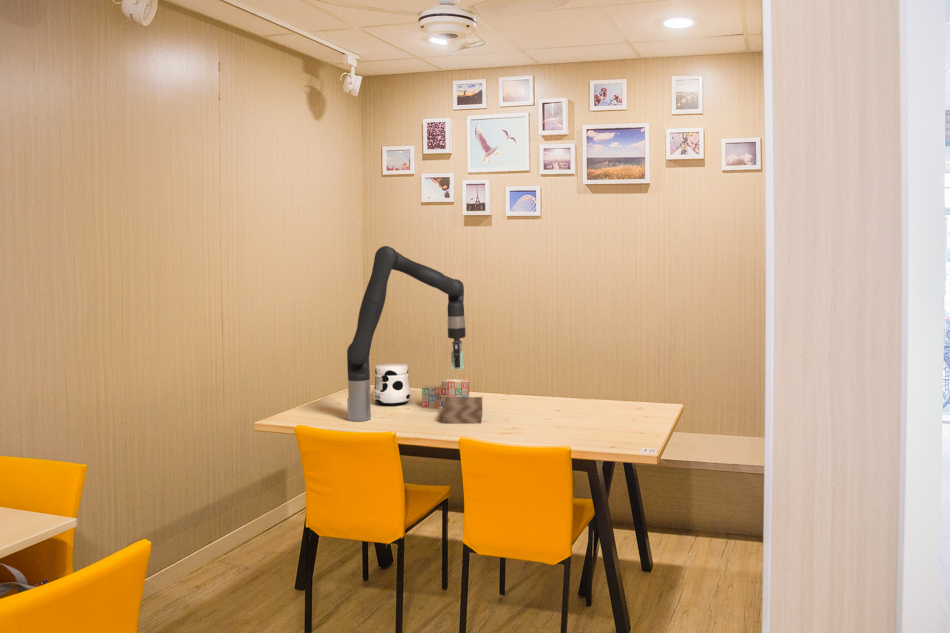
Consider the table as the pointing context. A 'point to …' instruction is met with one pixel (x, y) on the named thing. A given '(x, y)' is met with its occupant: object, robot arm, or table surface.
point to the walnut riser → (462, 410)
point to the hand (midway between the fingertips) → (457, 366)
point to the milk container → (391, 384)
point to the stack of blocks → (444, 392)
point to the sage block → (460, 360)
